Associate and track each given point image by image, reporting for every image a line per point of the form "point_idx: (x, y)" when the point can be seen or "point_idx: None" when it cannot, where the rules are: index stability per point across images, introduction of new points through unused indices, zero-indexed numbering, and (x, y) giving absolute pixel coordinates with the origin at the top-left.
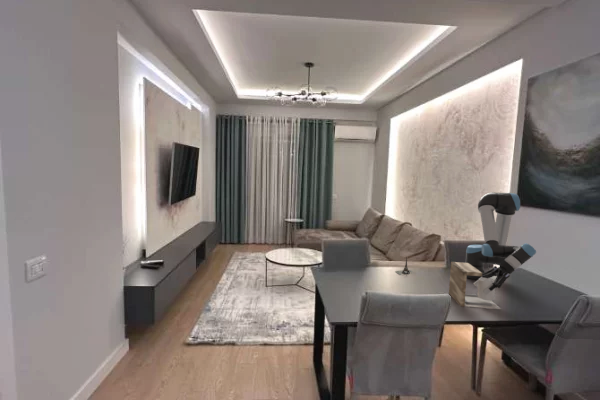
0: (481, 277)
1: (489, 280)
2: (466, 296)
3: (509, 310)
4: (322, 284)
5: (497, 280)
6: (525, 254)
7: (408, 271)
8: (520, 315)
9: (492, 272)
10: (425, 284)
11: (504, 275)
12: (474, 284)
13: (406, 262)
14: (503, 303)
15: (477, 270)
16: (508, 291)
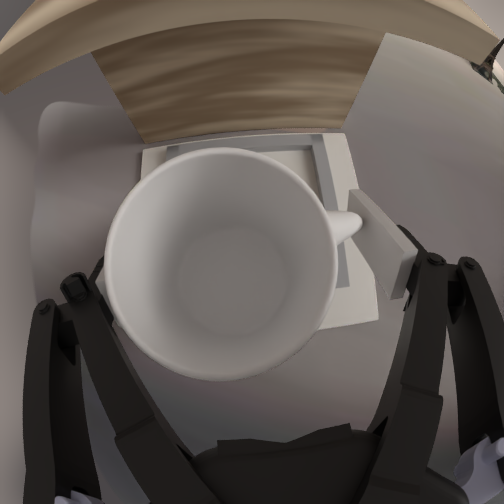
0: (402, 244)
1: (304, 321)
2: (308, 185)
3: (147, 388)
4: None
5: (91, 365)
6: None
7: (489, 74)
8: (98, 408)
9: (395, 398)
10: (408, 68)
11: (29, 475)
12: (349, 198)
13: (497, 46)
14: (263, 402)
15: (63, 8)
16: (455, 451)
